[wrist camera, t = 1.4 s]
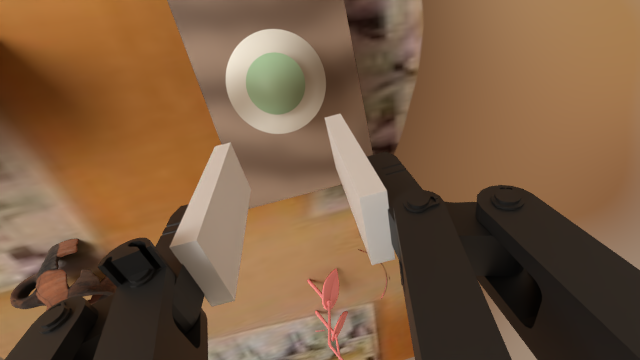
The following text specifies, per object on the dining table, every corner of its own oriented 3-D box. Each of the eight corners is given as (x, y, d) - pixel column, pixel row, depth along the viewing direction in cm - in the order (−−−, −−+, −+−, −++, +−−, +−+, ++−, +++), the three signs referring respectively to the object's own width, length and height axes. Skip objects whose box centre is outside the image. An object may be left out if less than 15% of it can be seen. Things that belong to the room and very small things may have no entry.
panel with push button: (161, -32, 23) (93, -88, 16) (325, -77, 23) (340, -155, 15) (248, 203, 31) (232, 245, 23) (373, 170, 31) (399, 201, 23)
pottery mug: (96, 226, 39) (97, 283, 35) (132, 249, 47) (137, 298, 43) (-9, 260, 36) (-20, 327, 32) (49, 279, 44) (45, 334, 40)
